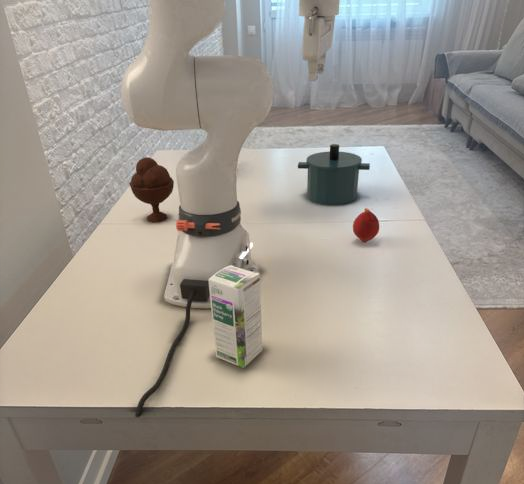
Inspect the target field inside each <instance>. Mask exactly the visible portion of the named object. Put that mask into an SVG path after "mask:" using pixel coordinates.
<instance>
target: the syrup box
mask: <svg viewBox="0 0 524 484" xmlns="http://www.w3.org/2000/svg"><path fill="white" fill-rule="evenodd" d="M209 291H210V301H211V308H210V309H211V315H212V316H211V317H212V318H211V319H212V327H213V338H214V348H215V357H216V359H220V360H223V361H225V362H227V363H230V364H232V365H234V366H237V367H239V368H242V369H244V368H246V366H248V365H249V364H250V363H251V362H252V361H253V360H254V359H256V357H257V356H258V355H260V354H261V353H262V352H263V327H262V323H263V322H262V297H261V293H262V292H261V272H259V273H254V272H251V271H248V270H245V269H241V268H238V267H235V266H232V265H230V266H228V267H225V268H224V269H222V270H220V271H219V272H217V273H216V274H214V275H213V276H212V277H211V278H210V279H209Z"/></svg>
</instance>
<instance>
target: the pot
mask: <svg viewBox="0 0 524 484" xmlns="http://www.w3.org/2000/svg"><path fill="white" fill-rule="evenodd" d="M297 169H299V170H300V169H301V170H302V169H306V170H307V181H306V183H307V187H306V197H307V199H308V200H309V201H310V202H312V203H315V204H318V205H322V206H323V205H324V206H343V205H347V204H351V203H352V202H354V201H356V199H357V197H358V187H359V186H358V185H359V175H360V171H370V169H371V162H370V163H369V162H368V163H367V162H366V163H365V162H363V163H362V162H361V164H360V165H358V166H356V167H353V168H349V169H341V170H327V169H320V168H315V167H312V166H310V165H308V164H307V162H306V161H299V162H298V164H297Z"/></svg>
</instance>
